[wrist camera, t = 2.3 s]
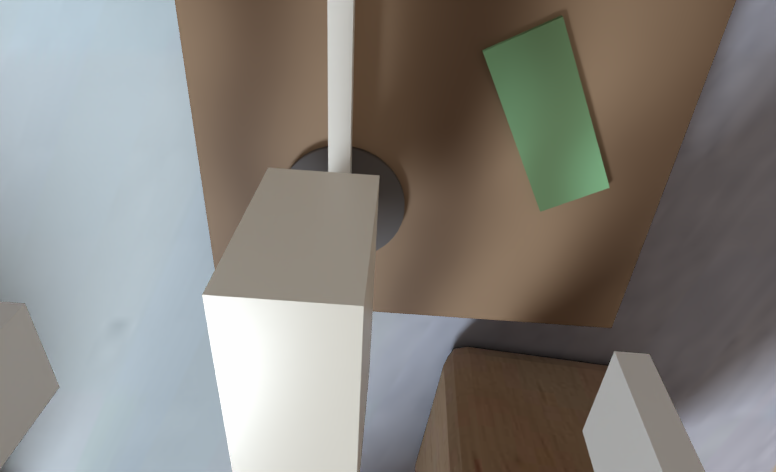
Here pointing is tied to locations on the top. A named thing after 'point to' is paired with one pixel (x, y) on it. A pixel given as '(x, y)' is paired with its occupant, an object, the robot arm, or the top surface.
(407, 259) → the board
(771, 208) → the top surface
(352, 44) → the cream block and rod
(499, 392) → the wooden block
